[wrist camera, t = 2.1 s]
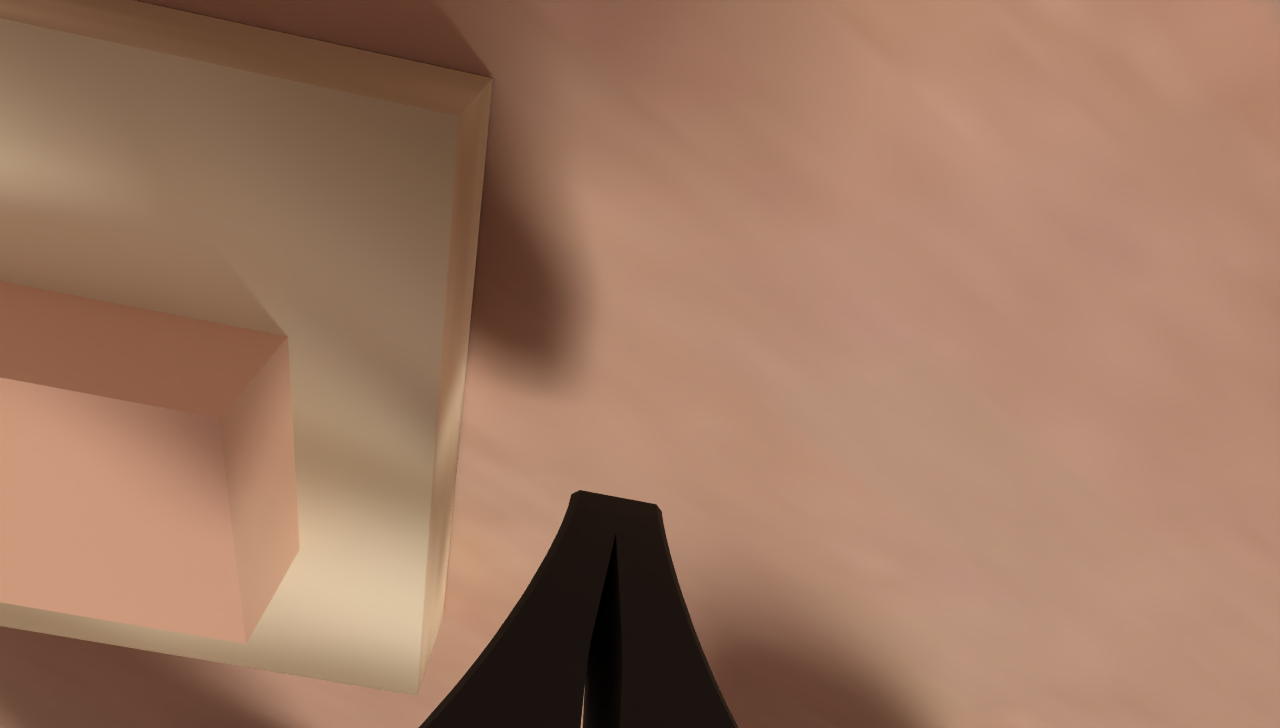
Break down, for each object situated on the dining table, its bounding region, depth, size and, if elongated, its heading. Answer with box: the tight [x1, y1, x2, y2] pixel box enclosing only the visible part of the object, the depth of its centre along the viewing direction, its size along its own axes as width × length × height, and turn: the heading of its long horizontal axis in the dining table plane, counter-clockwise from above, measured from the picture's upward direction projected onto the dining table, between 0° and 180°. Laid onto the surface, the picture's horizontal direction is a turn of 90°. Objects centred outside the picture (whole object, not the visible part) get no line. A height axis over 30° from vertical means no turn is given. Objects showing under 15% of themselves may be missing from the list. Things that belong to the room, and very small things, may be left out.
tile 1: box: [0, 281, 300, 644], centre depth 12 cm, size 4×4×2 cm
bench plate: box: [0, 0, 493, 696], centre depth 13 cm, size 12×13×2 cm
